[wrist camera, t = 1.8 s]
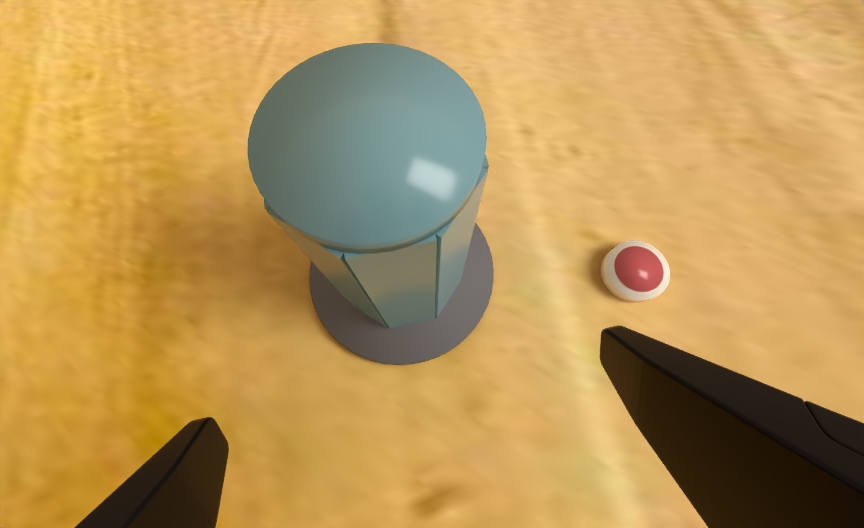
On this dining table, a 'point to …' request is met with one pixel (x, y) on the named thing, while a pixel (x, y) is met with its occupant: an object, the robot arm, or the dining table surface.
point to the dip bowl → (635, 271)
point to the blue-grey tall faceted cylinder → (375, 174)
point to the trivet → (415, 338)
